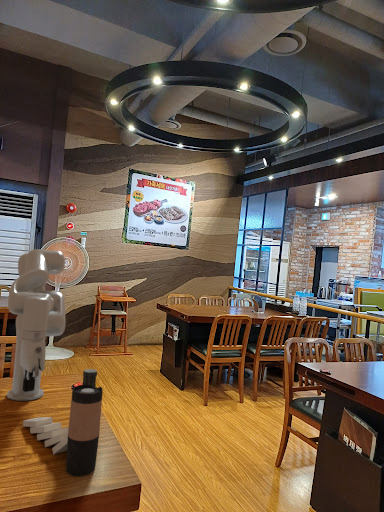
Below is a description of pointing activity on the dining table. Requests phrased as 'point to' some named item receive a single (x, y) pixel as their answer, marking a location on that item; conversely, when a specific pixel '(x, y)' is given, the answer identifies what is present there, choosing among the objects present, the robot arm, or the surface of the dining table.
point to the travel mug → (83, 429)
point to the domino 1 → (38, 421)
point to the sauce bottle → (89, 377)
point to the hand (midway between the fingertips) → (28, 390)
